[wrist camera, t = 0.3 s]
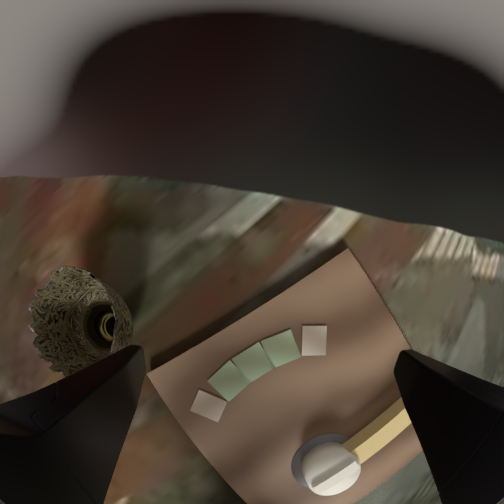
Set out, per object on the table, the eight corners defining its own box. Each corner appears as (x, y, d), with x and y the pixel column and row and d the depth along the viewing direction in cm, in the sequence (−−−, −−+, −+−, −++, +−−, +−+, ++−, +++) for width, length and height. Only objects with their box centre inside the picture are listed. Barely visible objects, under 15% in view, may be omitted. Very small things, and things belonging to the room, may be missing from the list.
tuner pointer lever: (316, 489, 18) (325, 507, 15) (291, 460, 19) (298, 477, 16) (434, 396, 20) (454, 400, 17) (418, 363, 21) (438, 366, 18)
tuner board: (442, 421, 21) (449, 424, 19) (284, 533, 17) (286, 540, 16) (343, 251, 25) (348, 247, 24) (150, 372, 22) (145, 374, 20)
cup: (121, 269, 24) (77, 242, 16) (169, 334, 23) (137, 335, 15) (68, 318, 22) (14, 309, 15) (111, 383, 21) (63, 399, 13)
